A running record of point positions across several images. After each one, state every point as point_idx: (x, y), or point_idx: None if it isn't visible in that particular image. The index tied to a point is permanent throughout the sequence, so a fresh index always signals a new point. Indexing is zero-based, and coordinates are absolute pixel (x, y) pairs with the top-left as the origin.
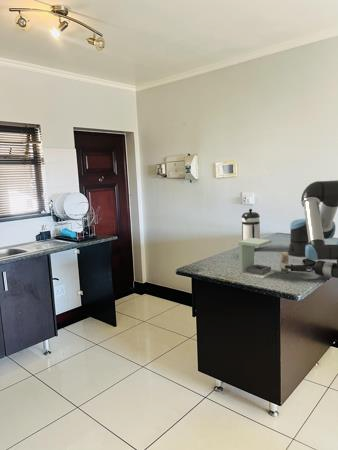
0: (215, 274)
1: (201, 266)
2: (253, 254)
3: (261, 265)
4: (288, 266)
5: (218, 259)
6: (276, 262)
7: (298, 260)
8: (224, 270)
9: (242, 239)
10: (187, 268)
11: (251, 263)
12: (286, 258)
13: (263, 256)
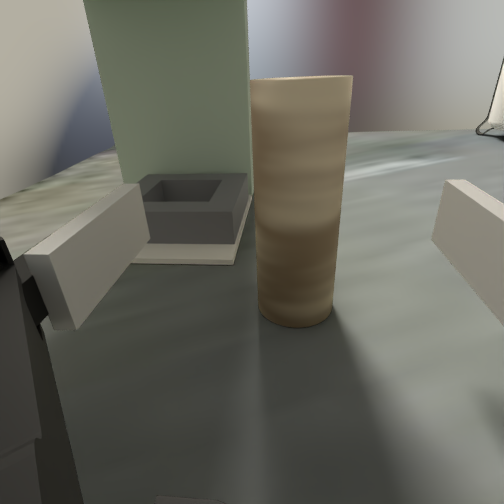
0: (98, 170)
1: None
2: (237, 102)
3: (237, 185)
4: (21, 259)
5: None
6: None
7: (494, 251)
8: None
9: (497, 84)
10: None
11: (217, 159)
12: (270, 156)
13: (498, 168)
